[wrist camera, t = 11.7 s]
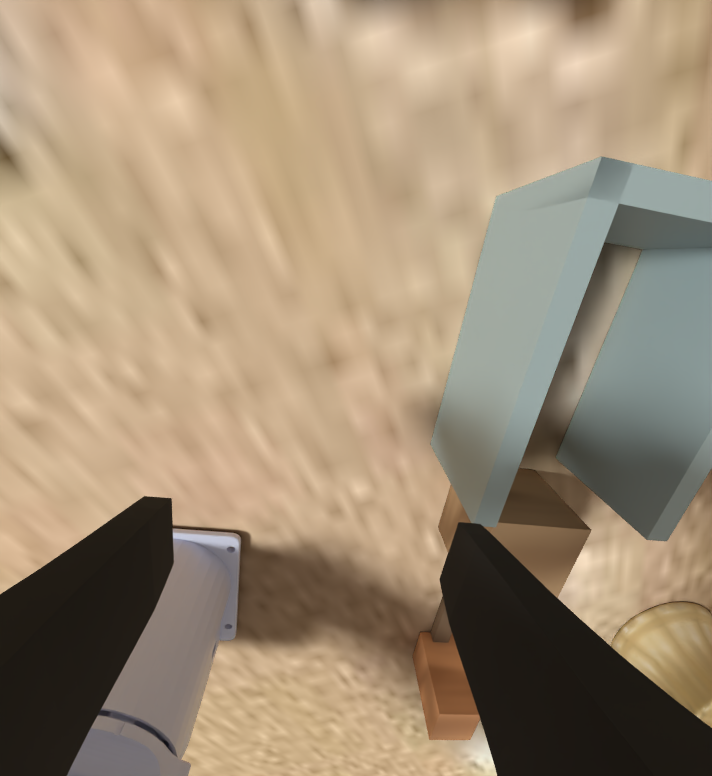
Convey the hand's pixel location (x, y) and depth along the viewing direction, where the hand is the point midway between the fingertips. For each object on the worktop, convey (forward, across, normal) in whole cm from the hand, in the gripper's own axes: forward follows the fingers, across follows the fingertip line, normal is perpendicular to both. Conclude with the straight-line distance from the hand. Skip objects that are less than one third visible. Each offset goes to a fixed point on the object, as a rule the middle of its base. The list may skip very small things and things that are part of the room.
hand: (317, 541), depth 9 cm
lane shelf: (+10, -11, -4) cm, 16 cm away
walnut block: (+10, -11, +12) cm, 20 cm away
